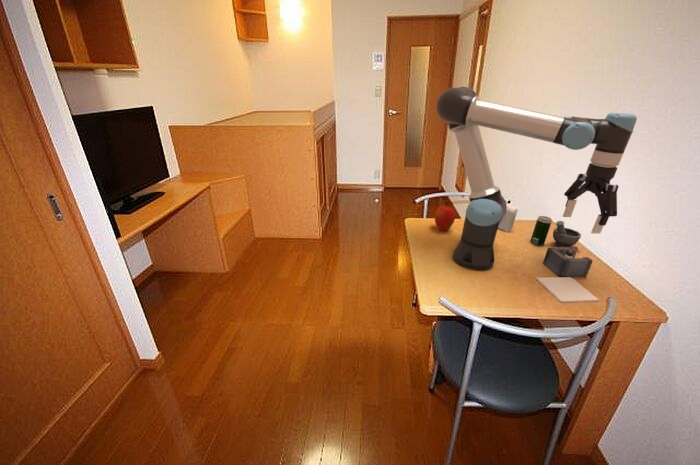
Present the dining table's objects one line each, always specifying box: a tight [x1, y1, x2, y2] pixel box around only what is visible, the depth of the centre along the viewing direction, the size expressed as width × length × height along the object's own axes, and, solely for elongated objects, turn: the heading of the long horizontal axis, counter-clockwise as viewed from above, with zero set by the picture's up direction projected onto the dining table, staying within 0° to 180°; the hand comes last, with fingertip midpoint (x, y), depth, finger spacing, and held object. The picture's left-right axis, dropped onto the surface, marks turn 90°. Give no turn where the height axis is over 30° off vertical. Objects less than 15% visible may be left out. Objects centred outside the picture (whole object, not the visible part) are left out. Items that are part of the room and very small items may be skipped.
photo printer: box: [498, 202, 518, 233], centre depth 150 cm, size 10×4×12 cm, turn 35°
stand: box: [565, 249, 574, 258], centre depth 118 cm, size 4×4×9 cm
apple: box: [434, 205, 456, 232], centre depth 146 cm, size 9×9×12 cm
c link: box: [542, 246, 594, 279], centre depth 118 cm, size 10×10×7 cm
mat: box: [535, 276, 599, 303], centre depth 108 cm, size 13×13×1 cm
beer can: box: [530, 215, 552, 247], centre depth 136 cm, size 5×5×12 cm
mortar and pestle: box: [552, 220, 582, 247], centre depth 134 cm, size 11×9×12 cm
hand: (580, 224), depth 112 cm, fingers open, 13 cm apart
